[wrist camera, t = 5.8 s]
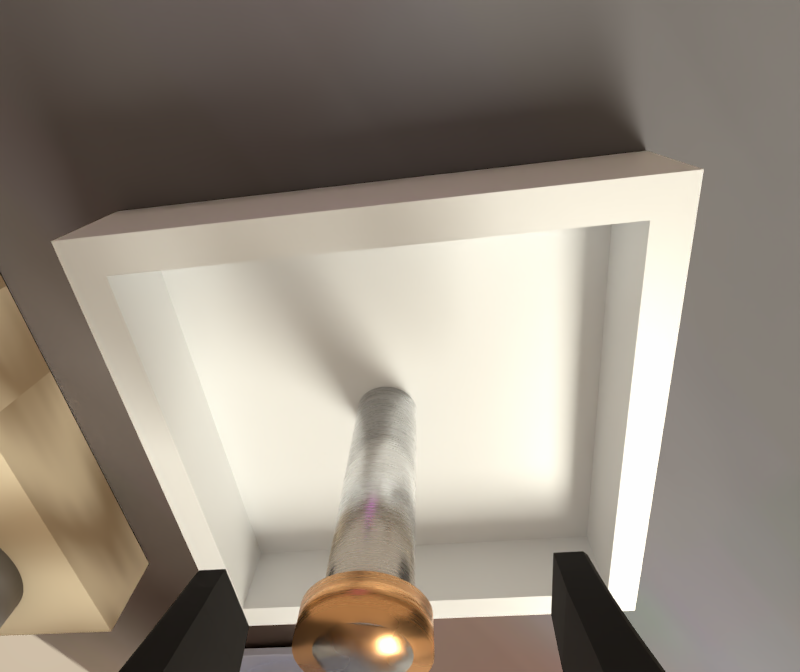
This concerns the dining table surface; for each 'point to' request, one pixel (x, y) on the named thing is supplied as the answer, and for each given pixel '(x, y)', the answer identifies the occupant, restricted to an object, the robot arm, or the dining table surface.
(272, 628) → the dining table surface
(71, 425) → the block
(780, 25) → the dining table surface
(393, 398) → the pin
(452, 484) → the tray
